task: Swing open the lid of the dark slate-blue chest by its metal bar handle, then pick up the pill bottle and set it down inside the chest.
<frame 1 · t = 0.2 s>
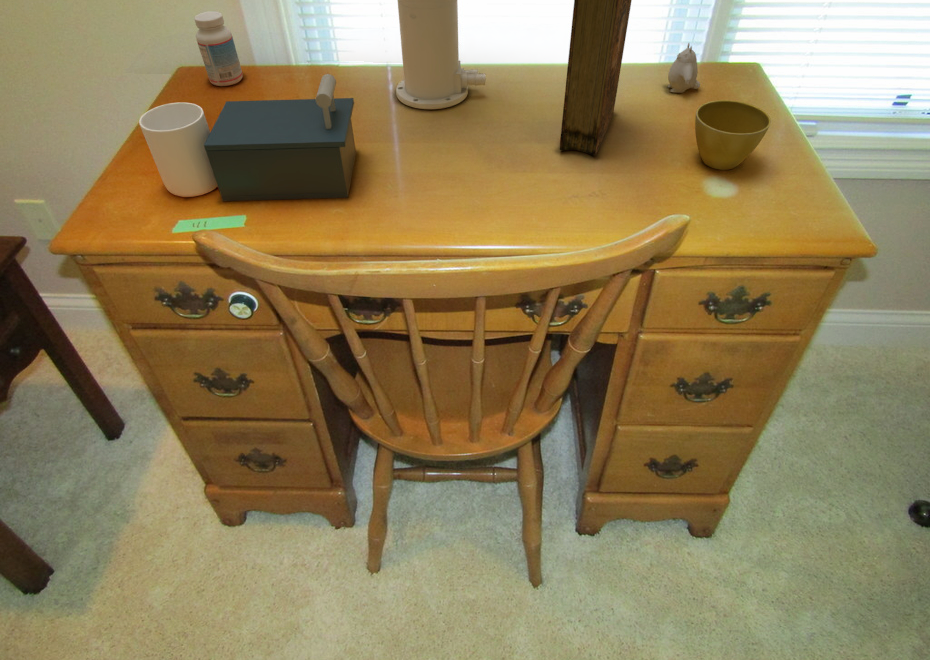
mug: (199, 177, 94), on the table
flower pot: (718, 162, 94), on the table
chest: (292, 175, 93), on the table
lid: (279, 105, 86), point 11 cm above the table, hinge at 0.0°
figurine: (682, 90, 111), on the table
book: (587, 132, 101), on the table
pill bottle: (227, 81, 117), on the table
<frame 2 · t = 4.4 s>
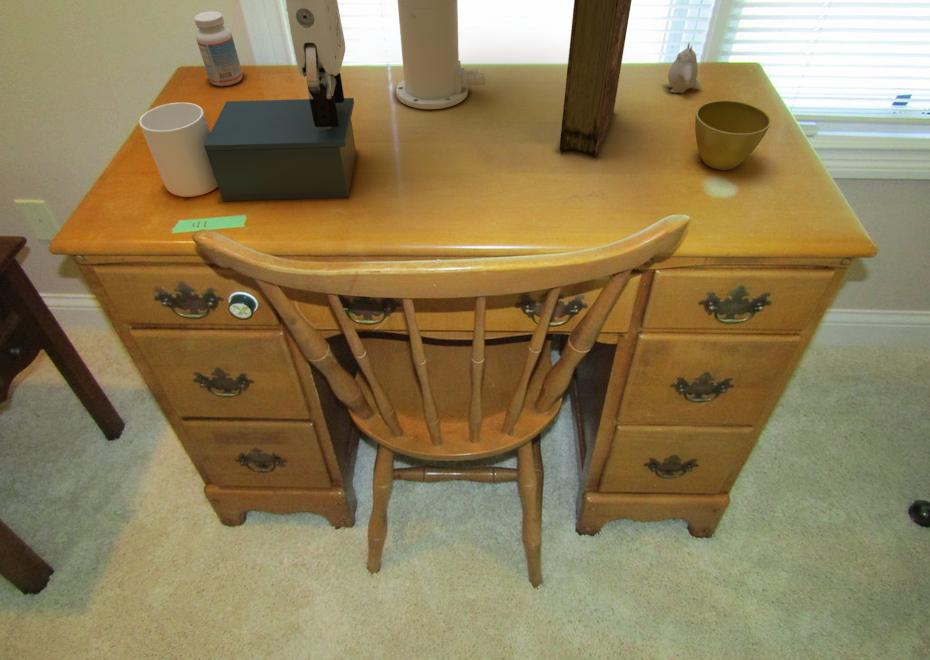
hand: (329, 112, 86), 10 cm above the table, tool pointing down, fingers closed on lid, 6 cm apart
lid: (279, 105, 86), point 11 cm above the table, hinge at 0.0°, touching gripper
everything else where it was.
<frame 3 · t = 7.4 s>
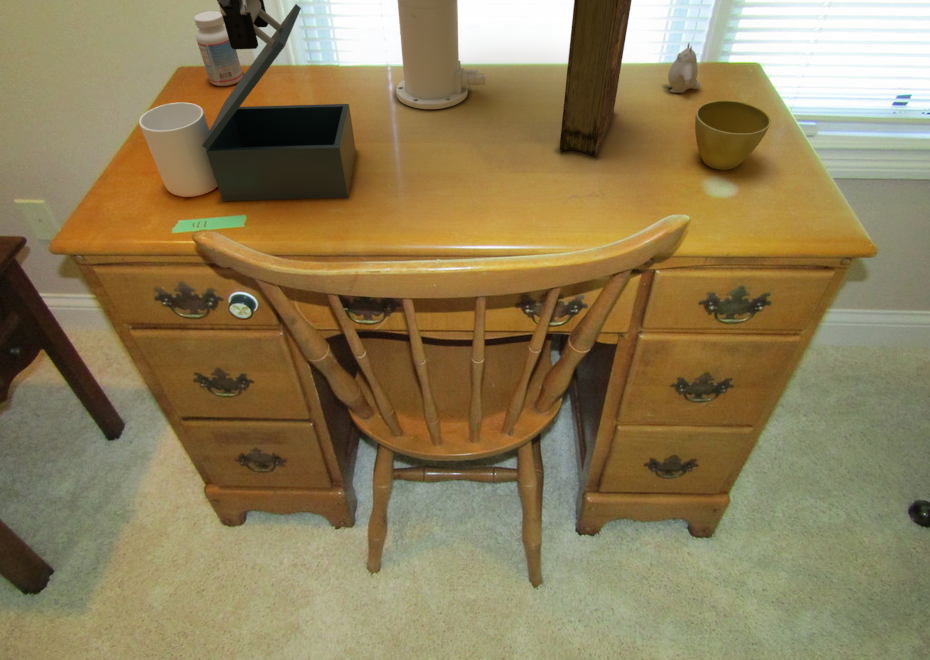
hand: (250, 35, 79), 20 cm above the table, tool pointing down, fingers closed on lid, 6 cm apart
lid: (234, 63, 81), point 17 cm above the table, hinge at 45.1°, touching gripper
everything else where it was.
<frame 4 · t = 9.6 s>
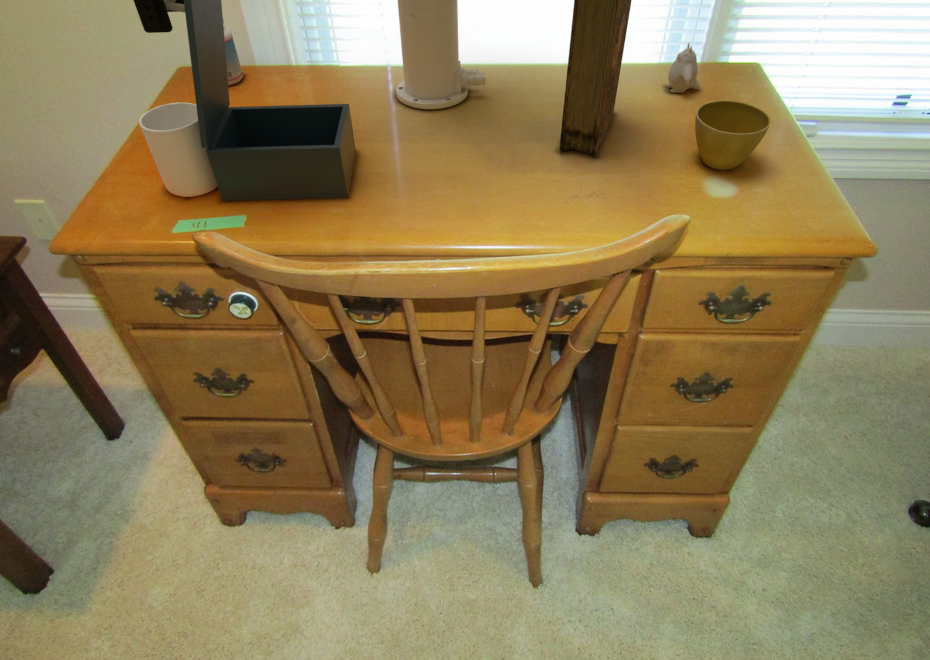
hand: (167, 19, 77), 22 cm above the table, tool pointing down, fingers closed on lid, 6 cm apart
lid: (189, 55, 80), point 18 cm above the table, hinge at 78.7°, touching gripper
everything else where it was.
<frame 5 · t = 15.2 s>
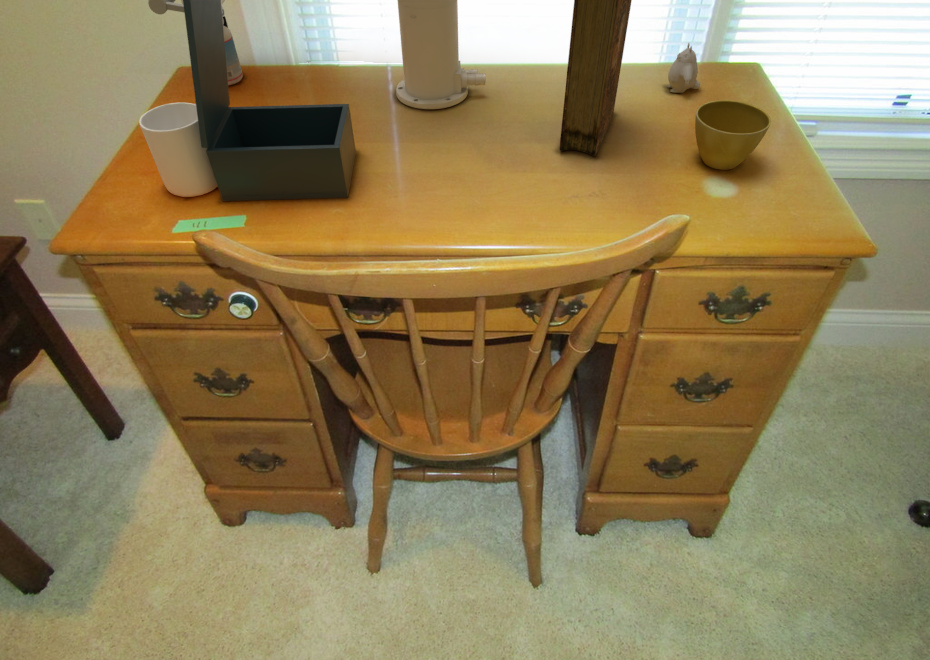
hand: (217, 46, 112), 6 cm above the table, tool pointing down, fingers closed on pill bottle, 6 cm apart
lid: (188, 55, 80), point 18 cm above the table, hinge at 78.9°
pill bottle: (227, 81, 117), on the table, touching gripper
everything else where it was.
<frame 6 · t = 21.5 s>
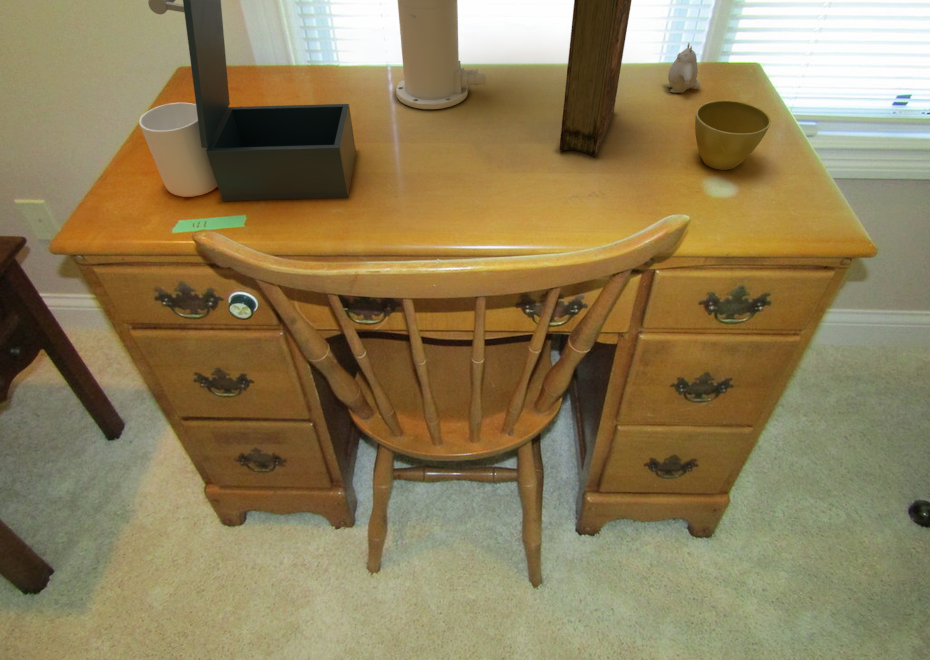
when the fingers open (7 cm above the table, at t = 28.1 s): pill bottle stays where it is, resting on chest.
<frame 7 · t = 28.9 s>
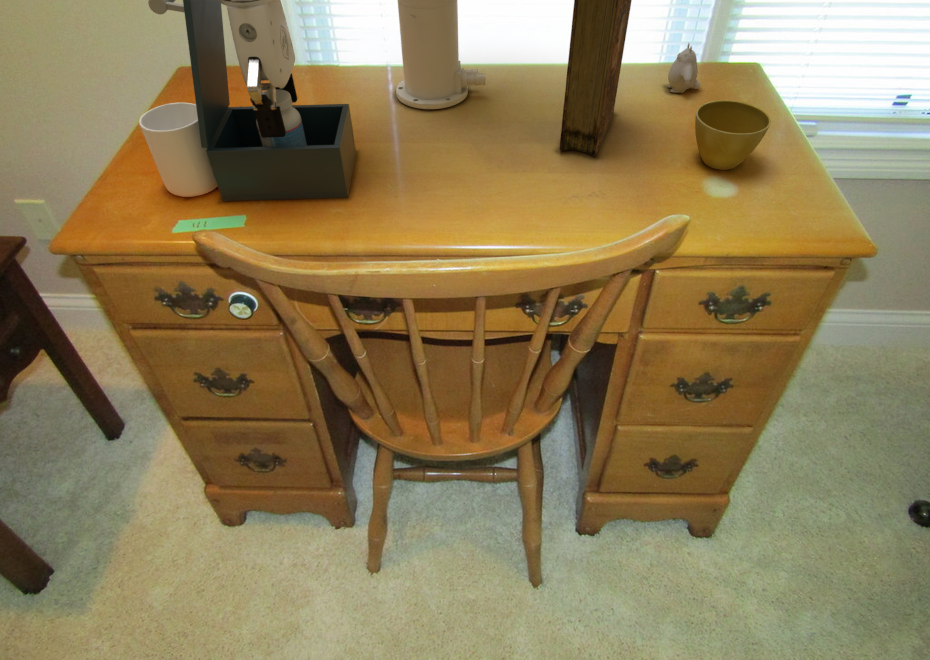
hand: (280, 118, 87), 9 cm above the table, tool pointing down, fingers open, 9 cm apart
pill bottle: (291, 171, 93), point 1 cm above the table, touching chest
everything else where it was.
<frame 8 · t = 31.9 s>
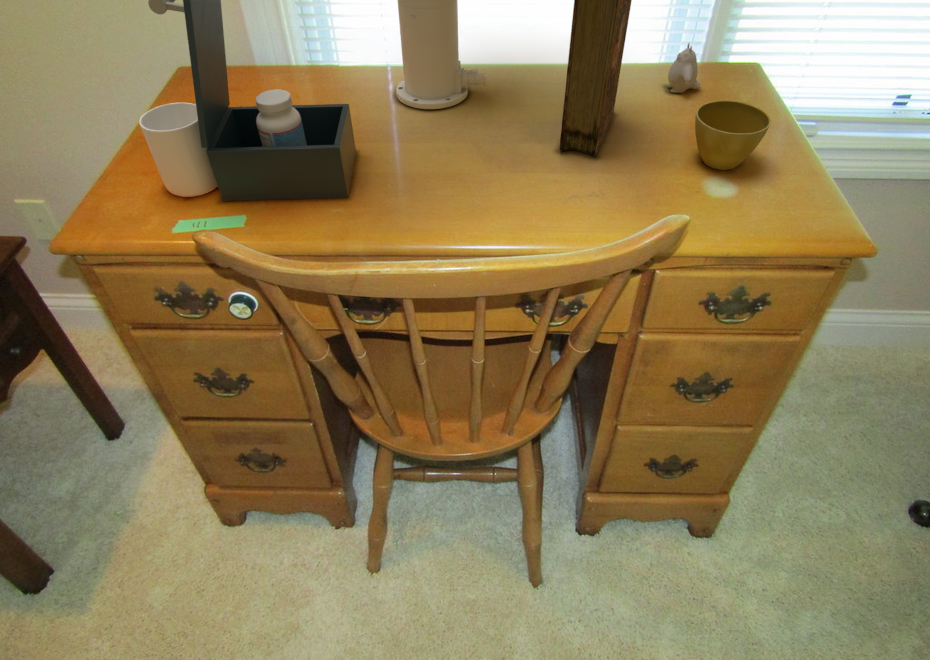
nothing on the table moved.
at the end: lid at +79° (first picture: +0°); pill bottle inside the target area in the chest (0.1 cm from its centre), point 0.6 cm above the chest's base; the gripper is holding nothing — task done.
